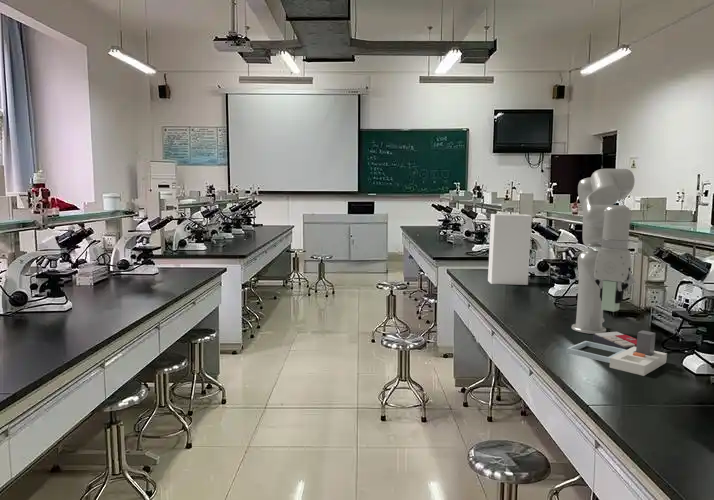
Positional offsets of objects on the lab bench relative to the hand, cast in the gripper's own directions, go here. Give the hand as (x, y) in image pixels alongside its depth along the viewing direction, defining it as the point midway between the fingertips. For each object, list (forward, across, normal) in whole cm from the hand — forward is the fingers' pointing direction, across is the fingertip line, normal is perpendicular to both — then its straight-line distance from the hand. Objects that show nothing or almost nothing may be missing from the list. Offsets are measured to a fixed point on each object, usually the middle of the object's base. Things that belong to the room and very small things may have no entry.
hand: (610, 301), depth 179 cm
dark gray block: (+19, +9, +6) cm, 22 cm away
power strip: (+20, +10, +1) cm, 22 cm away
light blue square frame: (+20, -4, +2) cm, 20 cm away
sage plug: (+3, 0, 0) cm, 3 cm away
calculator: (+20, -4, +20) cm, 28 cm away
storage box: (+18, -103, +104) cm, 148 cm away
